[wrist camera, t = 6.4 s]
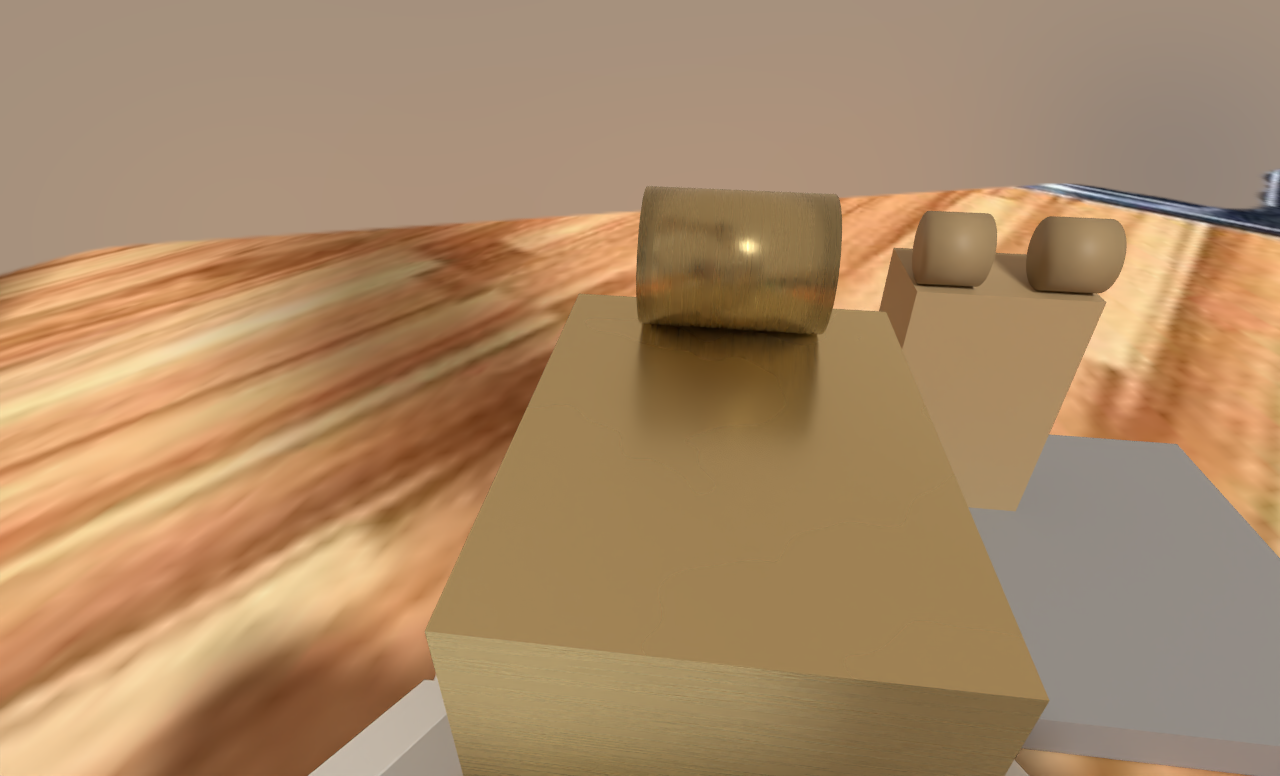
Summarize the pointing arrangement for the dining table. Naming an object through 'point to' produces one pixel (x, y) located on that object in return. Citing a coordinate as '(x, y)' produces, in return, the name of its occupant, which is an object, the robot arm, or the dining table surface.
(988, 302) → the gray base plate
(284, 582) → the dining table surface
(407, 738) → the robot arm
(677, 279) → the tan block
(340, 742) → the dining table surface
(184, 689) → the dining table surface
